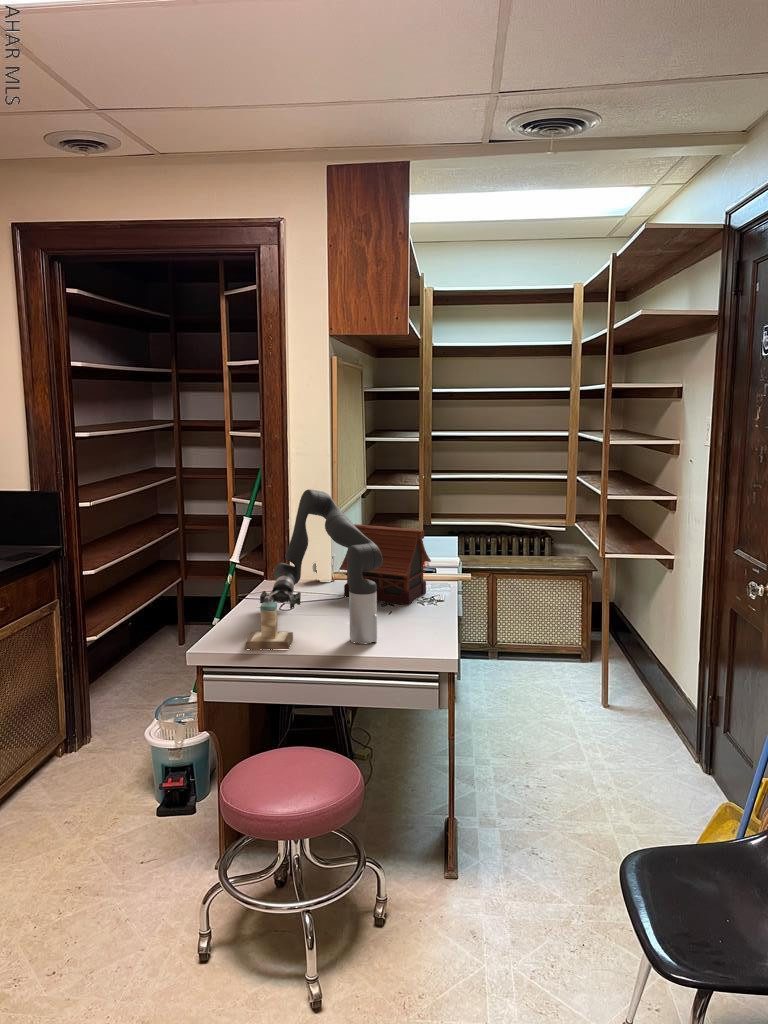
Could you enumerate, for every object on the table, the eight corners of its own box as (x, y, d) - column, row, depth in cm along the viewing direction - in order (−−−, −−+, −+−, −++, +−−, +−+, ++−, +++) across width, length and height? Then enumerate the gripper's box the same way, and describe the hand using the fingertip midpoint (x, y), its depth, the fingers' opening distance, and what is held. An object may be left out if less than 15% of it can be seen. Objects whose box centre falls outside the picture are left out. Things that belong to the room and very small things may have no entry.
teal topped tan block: (277, 634, 244) (276, 602, 243) (275, 638, 240) (274, 606, 238) (263, 634, 244) (262, 602, 243) (261, 638, 240) (260, 606, 238)
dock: (293, 640, 247) (292, 631, 247) (288, 650, 237) (288, 641, 237) (252, 639, 248) (252, 631, 247) (245, 650, 238) (245, 641, 237)
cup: (331, 584, 321) (331, 557, 319) (312, 583, 322) (311, 556, 320) (338, 578, 331) (337, 552, 329) (318, 577, 332) (318, 551, 331)
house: (434, 591, 309) (435, 524, 304) (409, 608, 283) (409, 536, 279) (360, 582, 323) (360, 518, 318) (330, 599, 297) (329, 529, 293)
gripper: (264, 578, 267) (258, 595, 251) (302, 580, 267) (299, 596, 252) (263, 597, 269) (258, 615, 253) (302, 599, 269) (299, 616, 254)
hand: (278, 605), depth 252 cm, fingers open, 8 cm apart
